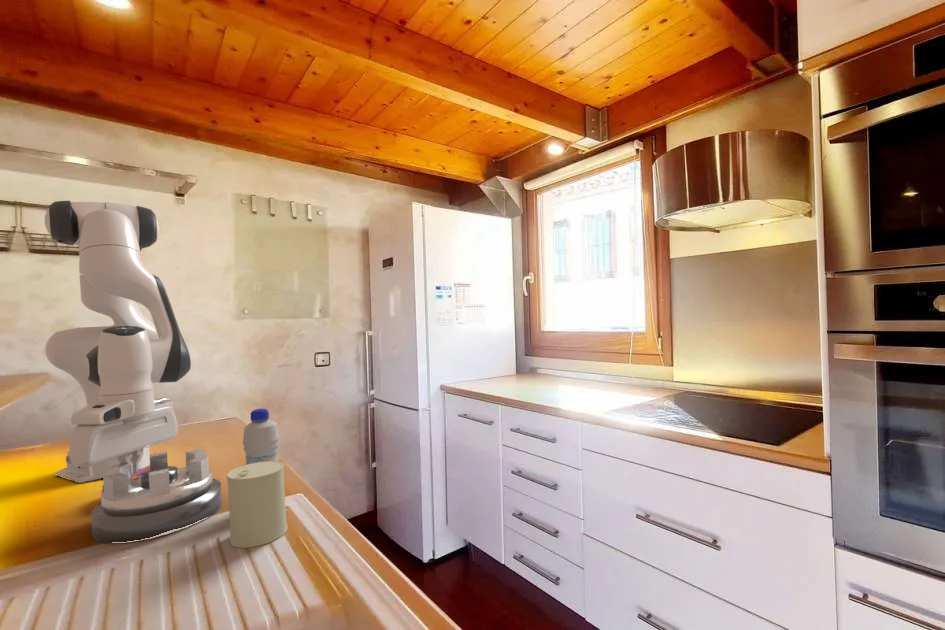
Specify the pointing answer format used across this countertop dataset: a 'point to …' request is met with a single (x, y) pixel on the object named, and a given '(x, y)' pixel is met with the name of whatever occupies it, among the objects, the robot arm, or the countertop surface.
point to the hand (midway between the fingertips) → (131, 473)
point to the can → (256, 504)
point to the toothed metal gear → (155, 485)
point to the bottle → (261, 438)
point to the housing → (154, 518)
